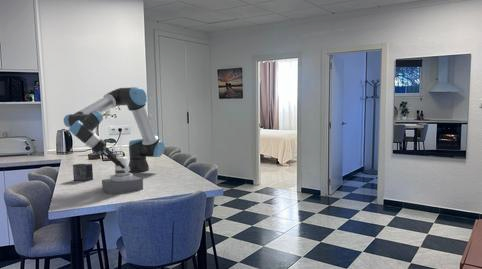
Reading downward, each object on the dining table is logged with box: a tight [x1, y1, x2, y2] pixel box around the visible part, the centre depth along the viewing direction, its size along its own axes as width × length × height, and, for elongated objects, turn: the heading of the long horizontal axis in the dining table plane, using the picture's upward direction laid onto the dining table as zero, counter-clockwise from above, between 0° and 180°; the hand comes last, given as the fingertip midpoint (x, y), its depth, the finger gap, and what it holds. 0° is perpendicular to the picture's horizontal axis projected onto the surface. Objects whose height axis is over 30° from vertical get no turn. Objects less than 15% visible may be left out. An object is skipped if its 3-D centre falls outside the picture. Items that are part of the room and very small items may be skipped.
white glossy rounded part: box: [114, 156, 129, 177], centre depth 195 cm, size 7×7×11 cm
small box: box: [72, 163, 94, 182], centre depth 225 cm, size 11×6×10 cm, turn 74°
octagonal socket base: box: [101, 172, 144, 196], centre depth 196 cm, size 18×14×8 cm
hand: (128, 170), depth 197 cm, fingers closed on white glossy rounded part, 7 cm apart
